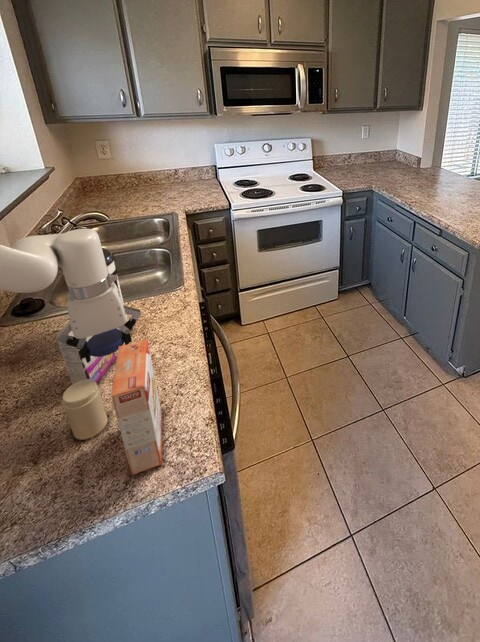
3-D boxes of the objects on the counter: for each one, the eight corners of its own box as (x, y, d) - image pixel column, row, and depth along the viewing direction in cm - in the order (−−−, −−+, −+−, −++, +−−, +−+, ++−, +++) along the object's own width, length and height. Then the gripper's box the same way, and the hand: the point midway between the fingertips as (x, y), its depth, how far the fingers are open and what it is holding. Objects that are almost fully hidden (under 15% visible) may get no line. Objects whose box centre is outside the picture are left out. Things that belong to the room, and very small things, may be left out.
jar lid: (129, 345, 82) (127, 339, 81) (92, 362, 77) (90, 355, 76) (119, 330, 86) (117, 324, 86) (84, 345, 82) (82, 339, 81)
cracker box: (164, 464, 72) (146, 385, 65) (130, 477, 70) (108, 396, 62) (163, 409, 84) (148, 337, 77) (135, 418, 82) (116, 345, 75)
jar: (74, 445, 76) (61, 408, 72) (72, 423, 81) (60, 387, 77) (109, 428, 80) (99, 392, 76) (105, 408, 84) (95, 373, 81)
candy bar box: (98, 358, 99) (84, 309, 94) (116, 358, 99) (103, 308, 94) (72, 391, 89) (54, 338, 83) (92, 391, 89) (75, 338, 83)
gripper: (133, 267, 83) (147, 329, 90) (41, 289, 75) (64, 356, 81) (137, 281, 77) (151, 347, 84) (37, 308, 69) (62, 378, 75)
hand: (108, 351), depth 82 cm, fingers closed on jar lid, 7 cm apart
